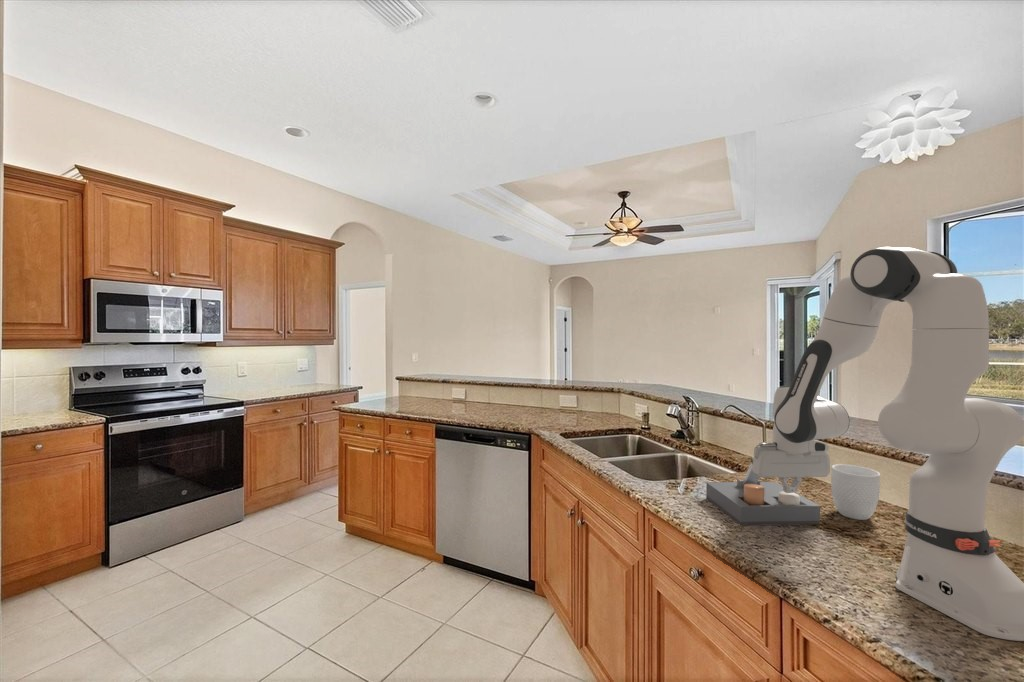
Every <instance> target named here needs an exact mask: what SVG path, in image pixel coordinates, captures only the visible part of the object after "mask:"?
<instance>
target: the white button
mask: <svg viewBox="0 0 1024 682" xmlns="http://www.w3.org/2000/svg"><path fill="white" fill-rule="evenodd" d="M798 494H799V493H797V494H796V493H786V492H784V491H781V492H779V496H778V501H780V502H781V503H783V504H785V505H799V504H800V496H799V495H800V494H799V495H798Z"/></svg>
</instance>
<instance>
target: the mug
mask: <svg viewBox="0 0 1024 682" xmlns="http://www.w3.org/2000/svg"><path fill="white" fill-rule="evenodd" d="M830 473H831V474H830V475H831V476H830V486H831V487H830V489H831V490H830V491H831V496H832V500H833V501H832V502H833V504H834V506H835V508H836V510H837V511H838V513H839V514H840V515H842V516H844V517H846V518H848V519H853V520H858V521H867V520H869V519H870V518H871V517H872V516H873V515H874V513H875V511H876V509H877V507H878V503H879V499H880V490H881V489H880V488H881V473H880V472H879V471H877V470H875V469H872V468H870V467H865V466H861V465H855V464H845V463H841V464H840V463H837V464H833V465H831V471H830Z"/></svg>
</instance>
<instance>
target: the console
mask: <svg viewBox="0 0 1024 682" xmlns="http://www.w3.org/2000/svg"><path fill="white" fill-rule="evenodd" d="M743 482H744V481H743V480H742V479H740V478H737V481H731V482H730V481H729V482H727V481H724V482H723V481H720V482H719V481H718V482H712V481H710V482H706V491H705V493H706V495H705V497H706V500H708V501H709V502H710V503H712V505H714V506H715V507H716V508H718V509H719V510H720V511H722V512H723V513H724V514H725V515H727V516H728V517H729V518H730V519H731V520H733V521H734V522H735V521H736V523H737V524H738V525H739V524H740V525H742V526H787V525H788V526H793V525H795V526H798V525H799V526H800V525H801V526H803V525H807V526H808V525H820V524H821V505H819V504H817V503H816V502H814V501H812V500H810V499H808V498H806V497H805V496H803V495H801V494H799V493H798V492H797V493H796V494H798V495H799V496H800V504H799V505H785V504H783V503H781V502H780V501H778V496H779V492H781V491H783V484H782V483H779V482H776V481H761V480H760V479H759V480H758V482H757V485H760V486H763V487H764V488H765V494H764V505H748V504H747V503H745V502H744V486H743Z"/></svg>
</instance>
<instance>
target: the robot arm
mask: <svg viewBox="0 0 1024 682" xmlns="http://www.w3.org/2000/svg"><path fill="white" fill-rule="evenodd" d="M851 265H852V266H851V267H850V275H849V276H845V277H843V278H841V279H840V280H839V281H838V282H837V283H836V285H835V287H834V288H833V290H832V293H831V294H830V297H829V299H828V301H827V304H826V307H825V311H824V314H823V317H822V320H821V324H820V326H819V329H818V331H817V333H816V335H815V337H814V338H813V340H812V341H811V343H809V345H807V347H806V349H805V350H804V352H803V354H802V356H801V357H800V358H801V359H800V361H799V364H798V365H797V367H796V370H795V373H794V376H793V378H792V380H791V383H790V384H788V385H787V384H786V385H781V386H779V387H777V388H776V390H775V393H774V397H773V404H772V416H773V419H774V423H773V427H772V442H760V443H758V444H757V445H756V446H754V448H753V458H754V459H753V466H752V471H753V472H754V474H755V475H757V476H759V477H760V478H763V479H764V478H765V479H766V478H771V479H772V478H778V479H779V481H780V482H781V483H780V484H781V485H782V486H783V491H784V492H786V493H797V494H798V487H799V486H800V485H801V483H802V481H803V478H826V477H828V476H829V475H830V473H831V459H830V455H829V453H828V451H829V446H830V445H829V444H828V443H826V442H823V441H820V440H826V439H832V438H837V437H841V436H843V435H845V434H846V433H847V432H848V429H849V427H850V423H851V420H850V415H849V413H848V410H847V409H846V408H845V407H844V406H843V405H842V404H841V403H839V402H837V401H833V400H832V401H831V400H830V399H827V398H825V397H822V396H820V395H819V394H820V392H821V390H822V386H823V385H824V382H825V380H826V378H827V376H828V375H829V374H830V372H831V371H833V370H834V369H835V368H836V367H839V366H841V365H842V364H844V363H845V362H849V361H850V360H854V359H856V358H858V357H860V356H861V355H863V354H865V353H866V352H868V350H869V349H870V347H871V346H872V344H873V342H874V340H875V339H876V336H877V333H878V331H879V326H880V324H881V323H880V322H881V319H882V316H883V313H884V310H885V308H886V307H887V306H888V305H889V304H891V303H892V302H895V301H896V302H904V303H907V304H908V305H909V307H910V308H911V311H912V331H911V332H912V337H911V338H912V339H911V344H912V345H911V363H910V367H909V370H908V374H907V377H906V378H905V379H906V380H905V382H904V383H903V386H902V388H901V390H900V391H899V393H898V394H897V395H896V397H894V399H892V400H891V401H890V402H889V403H888V404H886V405H885V406H883V408H882V409H881V411H880V412H879V415H878V418H877V419H878V420H877V426H878V427H877V428H878V430H879V433H880V434H881V436H882V438H883V439H884V440H885V442H887V443H888V444H889V445H890V446H892V447H893V448H895V449H899V450H902V451H907V452H912V453H917V454H922V455H929V456H928V458H927V459H926V461H925V463H923V465H921V466H920V467H919V468H917V469H916V470H914V472H913V473H912V474H911V475H910V478H909V489H908V490H909V491H908V492H909V493H908V495H909V497H908V510H907V511H906V512H905V518H904V524H905V525H904V529H905V530H906V539H905V542H904V543H905V544H904V548H903V552H902V557H901V562H900V564H899V567H898V569H897V572H896V573H895V576H896V582H895V588H896V589H897V590H899V591H901V592H903V593H904V594H907V595H908V596H911V597H912V598H914V599H915V600H918V601H919V602H922V603H924V604H926V605H927V606H929V607H931V608H933V609H935V610H937V611H939V612H940V613H942V614H944V615H946V616H948V617H950V618H951V619H954V621H955V620H956V621H958V622H959V623H961V624H963V625H965V626H966V627H969V628H970V629H973V630H975V631H976V632H978V633H980V634H982V635H985V636H988V637H993V638H997V639H1002V640H1008V641H1017V642H1024V582H1023V581H1022V580H1021V579H1020V578H1019V577H1018V576H1017V575H1016V574H1015V573H1014V572H1013V571H1012V570H1011V568H1009V567H1008V565H1007V564H1005V562H1004V561H1003V560H1001V558H999V556H997V554H996V553H995V551H996V550H995V547H1001V544H999V543H1001V542H1002V540H999V539H991V537H990V534H989V532H988V529H987V528H986V527H985V525H986V524H985V520H986V510H987V509H986V506H987V497H988V496H987V495H988V490H989V487H990V483H991V480H992V478H993V476H994V474H995V471H996V470H997V468H998V467H999V464H1000V463H1001V461H1002V459H1003V458H1004V456H1005V455H1006V454H1007V453H1008V452H1009V451H1010V450H1011V449H1013V448H1014V447H1016V446H1017V445H1018V444H1019V443H1020V442H1021V441H1022V440H1023V438H1024V419H1023V418H1022V416H1021V415H1020V414H1019V412H1018V411H1016V410H1015V409H1014V408H1013V407H1011V406H1009V405H1007V404H1005V403H1004V402H1003V403H1002V402H998V401H995V400H990V399H986V398H980V397H979V398H978V397H967V394H968V392H969V391H970V389H971V386H972V385H973V383H974V382H975V381H976V380H977V379H979V378H980V377H981V376H983V375H984V374H985V373H986V372H987V371H988V369H989V366H990V329H989V328H990V322H989V321H990V319H989V309H988V302H987V297H986V295H985V290H984V287H983V284H982V283H981V282H980V280H978V279H977V278H976V277H973V276H971V275H966V274H962V273H958V269H957V266H956V265H955V262H953V261H952V259H950V258H949V257H947V256H945V255H944V254H941V253H939V252H935V251H926V250H921V249H917V248H913V247H892V246H883V247H877V248H873V249H872V248H871V249H869V250H868V251H865V252H863V253H861V254H860V255H859V256H858V257H857V258H856V259H855V260H854V262H853V264H851ZM790 478H791V479H792V481H791V483H790V484H789V481H790Z"/></svg>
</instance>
